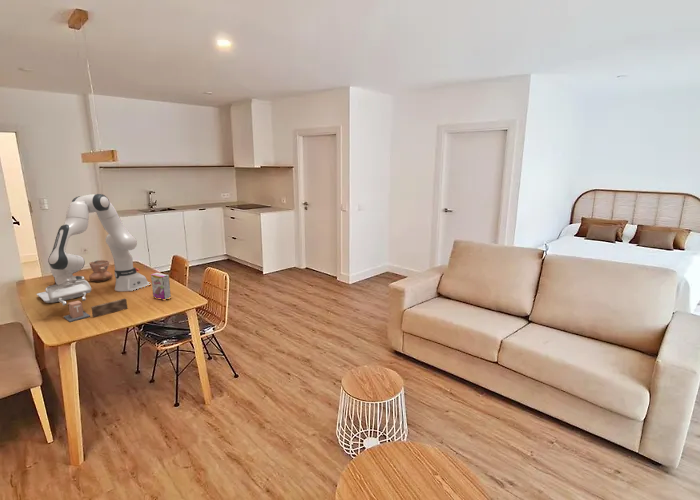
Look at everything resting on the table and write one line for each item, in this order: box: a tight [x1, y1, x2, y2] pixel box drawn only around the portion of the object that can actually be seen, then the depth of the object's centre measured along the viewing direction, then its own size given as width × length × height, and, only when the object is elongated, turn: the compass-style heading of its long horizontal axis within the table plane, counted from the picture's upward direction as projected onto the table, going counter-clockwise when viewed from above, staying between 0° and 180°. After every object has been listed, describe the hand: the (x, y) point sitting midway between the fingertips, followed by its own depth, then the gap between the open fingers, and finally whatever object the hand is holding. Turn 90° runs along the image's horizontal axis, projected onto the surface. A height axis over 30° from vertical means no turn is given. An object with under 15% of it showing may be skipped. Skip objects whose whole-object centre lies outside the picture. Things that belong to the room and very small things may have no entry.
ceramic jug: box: [88, 259, 113, 283], centre depth 284 cm, size 18×14×14 cm
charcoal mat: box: [63, 310, 91, 323], centre depth 219 cm, size 10×10×1 cm
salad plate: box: [36, 291, 83, 304], centre depth 249 cm, size 21×21×3 cm
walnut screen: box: [91, 298, 128, 318], centre depth 226 cm, size 18×2×6 cm, turn 142°
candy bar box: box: [150, 272, 172, 299], centre depth 250 cm, size 11×5×16 cm, turn 65°
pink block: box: [67, 300, 84, 318], centre depth 218 cm, size 5×5×8 cm
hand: (74, 302), depth 219 cm, fingers open, 8 cm apart
